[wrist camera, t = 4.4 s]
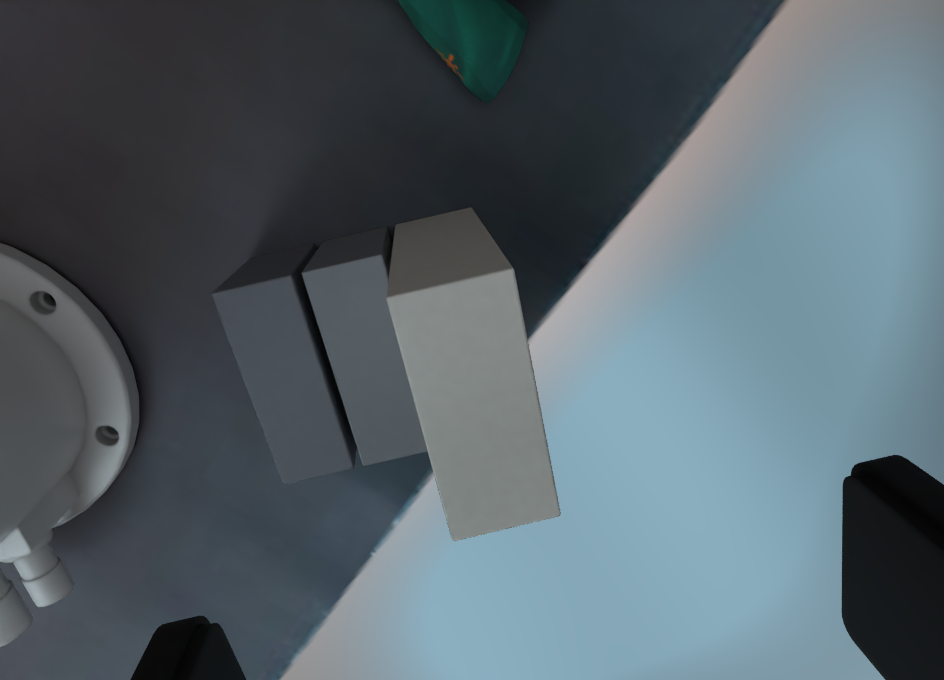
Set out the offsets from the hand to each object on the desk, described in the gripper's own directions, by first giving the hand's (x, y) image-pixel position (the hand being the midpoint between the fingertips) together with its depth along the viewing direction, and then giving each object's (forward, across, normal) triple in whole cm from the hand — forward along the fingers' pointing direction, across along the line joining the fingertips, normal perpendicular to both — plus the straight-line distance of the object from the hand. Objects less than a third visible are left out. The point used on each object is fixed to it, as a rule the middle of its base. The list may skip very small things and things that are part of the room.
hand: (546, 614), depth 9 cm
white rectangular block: (+16, 0, 0) cm, 17 cm away
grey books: (+16, +5, 0) cm, 17 cm away
